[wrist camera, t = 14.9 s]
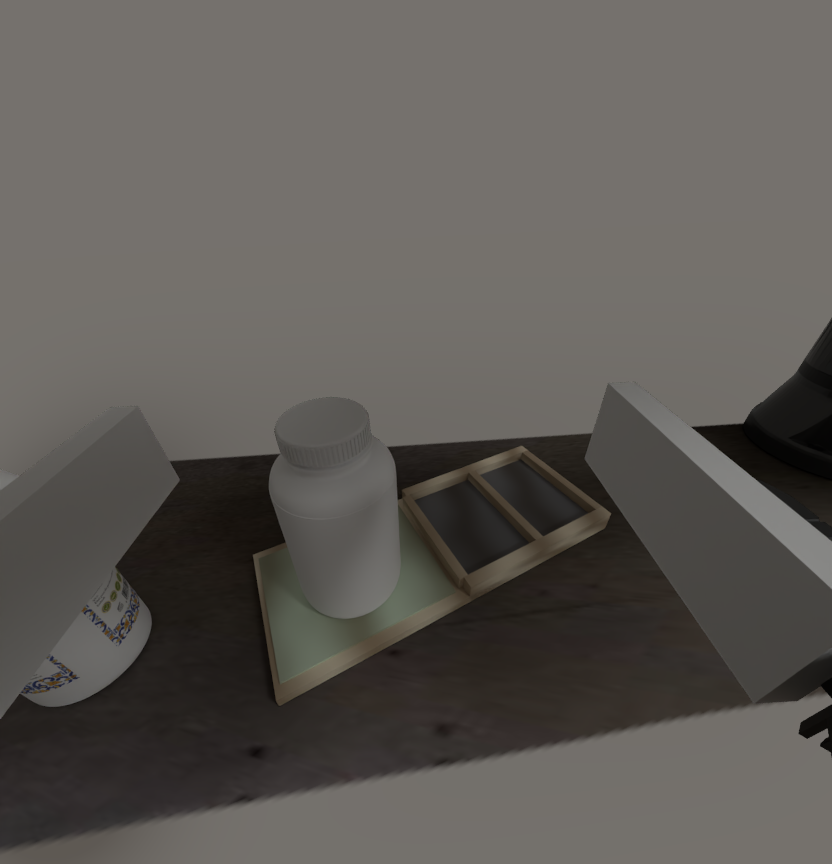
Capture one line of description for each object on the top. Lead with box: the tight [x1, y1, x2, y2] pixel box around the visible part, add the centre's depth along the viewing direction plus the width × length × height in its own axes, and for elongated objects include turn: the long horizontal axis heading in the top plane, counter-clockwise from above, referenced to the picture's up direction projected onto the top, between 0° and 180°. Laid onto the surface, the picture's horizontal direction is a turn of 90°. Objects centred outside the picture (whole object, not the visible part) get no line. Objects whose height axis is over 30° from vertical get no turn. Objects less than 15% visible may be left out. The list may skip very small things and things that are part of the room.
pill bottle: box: [269, 397, 401, 619], centre depth 24 cm, size 8×8×15 cm
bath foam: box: [0, 469, 152, 707], centre depth 19 cm, size 7×7×20 cm
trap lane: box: [253, 446, 611, 706], centre depth 31 cm, size 30×12×2 cm, turn 118°
